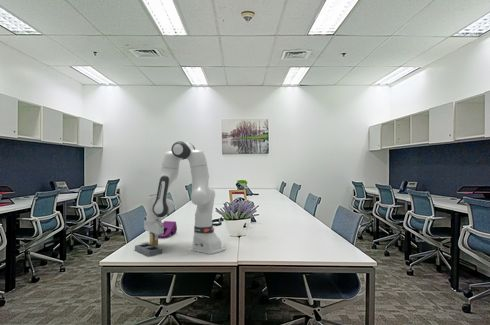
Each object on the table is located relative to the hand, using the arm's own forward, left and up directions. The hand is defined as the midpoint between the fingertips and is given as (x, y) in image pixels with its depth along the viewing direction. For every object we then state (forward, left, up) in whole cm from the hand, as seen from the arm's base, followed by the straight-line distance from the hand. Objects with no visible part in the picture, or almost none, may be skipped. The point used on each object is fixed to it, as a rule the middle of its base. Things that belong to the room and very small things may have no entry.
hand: (153, 239), depth 205 cm
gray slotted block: (-12, +10, -4) cm, 16 cm away
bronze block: (0, 0, -4) cm, 4 cm away
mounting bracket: (+18, -20, -4) cm, 27 cm away
